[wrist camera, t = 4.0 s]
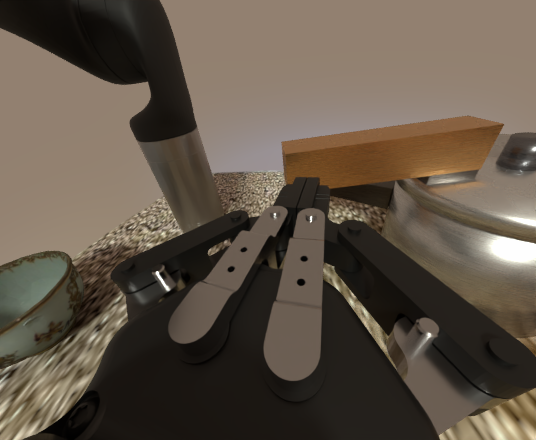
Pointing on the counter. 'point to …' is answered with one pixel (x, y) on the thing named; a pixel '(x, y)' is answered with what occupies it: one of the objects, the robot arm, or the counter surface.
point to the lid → (434, 168)
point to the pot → (460, 255)
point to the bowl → (37, 304)
